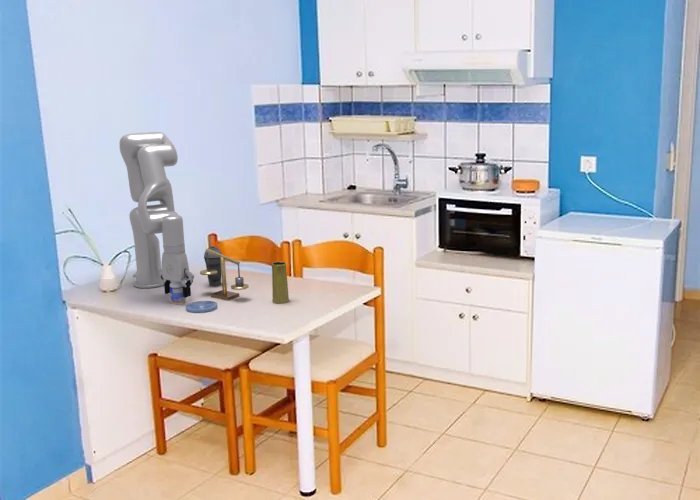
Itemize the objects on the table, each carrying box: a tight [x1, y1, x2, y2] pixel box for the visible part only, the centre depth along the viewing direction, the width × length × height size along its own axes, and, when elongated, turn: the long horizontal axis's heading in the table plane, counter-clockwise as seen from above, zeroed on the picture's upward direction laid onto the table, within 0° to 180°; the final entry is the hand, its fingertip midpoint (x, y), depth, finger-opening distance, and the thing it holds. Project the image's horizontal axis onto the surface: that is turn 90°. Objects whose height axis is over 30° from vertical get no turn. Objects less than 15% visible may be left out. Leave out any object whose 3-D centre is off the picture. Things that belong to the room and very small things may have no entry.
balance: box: [199, 248, 249, 301], centre depth 285 cm, size 22×6×18 cm, turn 55°
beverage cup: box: [203, 235, 223, 288], centre depth 301 cm, size 7×7×20 cm
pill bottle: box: [169, 281, 187, 305], centre depth 280 cm, size 5×5×10 cm
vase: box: [271, 261, 290, 304], centre depth 278 cm, size 6×6×14 cm
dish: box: [185, 300, 218, 314], centre depth 273 cm, size 11×11×1 cm
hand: (177, 294), depth 280 cm, fingers open, 9 cm apart
